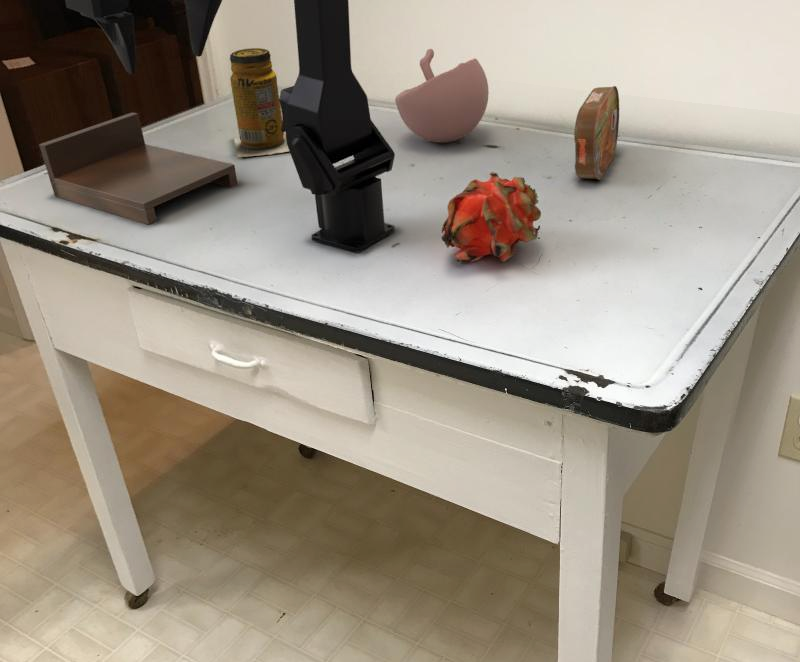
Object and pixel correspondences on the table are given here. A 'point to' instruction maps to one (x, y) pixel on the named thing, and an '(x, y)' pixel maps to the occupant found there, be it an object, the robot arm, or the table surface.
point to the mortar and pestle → (445, 101)
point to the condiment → (256, 104)
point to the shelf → (125, 169)
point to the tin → (596, 132)
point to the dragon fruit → (491, 218)
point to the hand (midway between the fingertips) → (165, 64)
